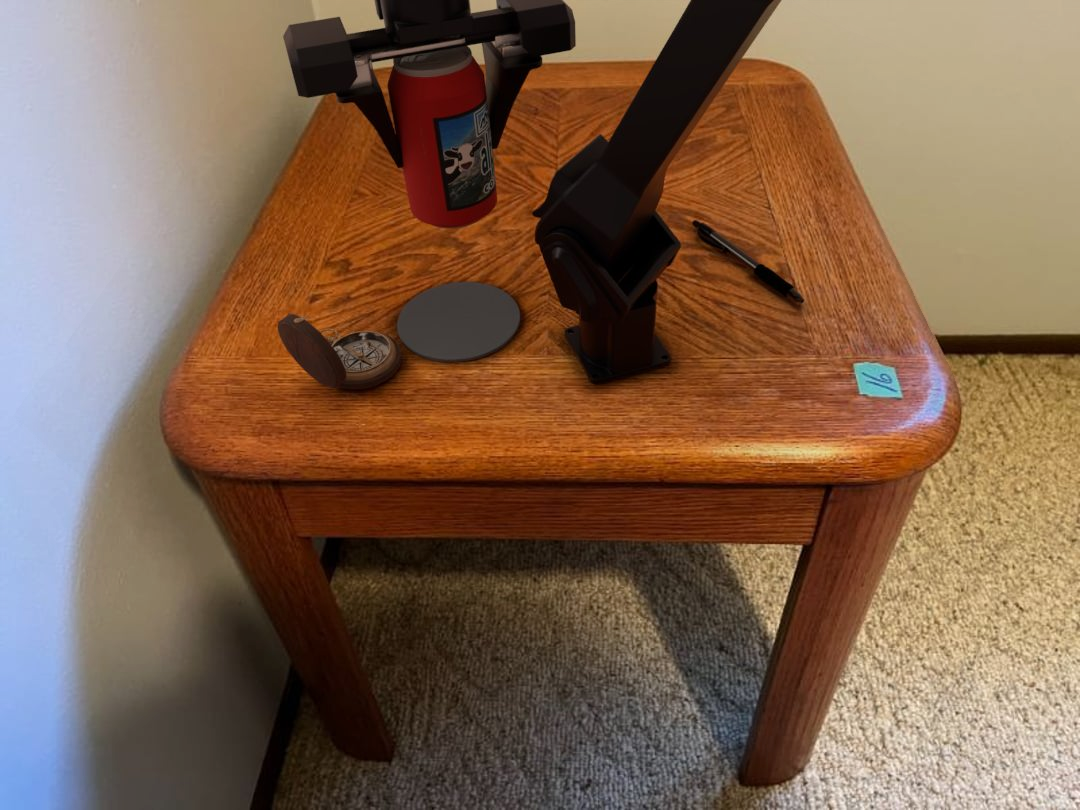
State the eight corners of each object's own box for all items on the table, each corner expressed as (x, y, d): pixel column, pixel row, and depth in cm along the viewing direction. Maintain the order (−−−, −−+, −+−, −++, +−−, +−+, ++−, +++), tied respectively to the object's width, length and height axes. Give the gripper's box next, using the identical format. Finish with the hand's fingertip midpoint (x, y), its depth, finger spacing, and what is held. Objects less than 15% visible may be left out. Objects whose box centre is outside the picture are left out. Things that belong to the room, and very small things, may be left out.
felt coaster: (536, 343, 67) (536, 340, 67) (412, 375, 65) (411, 372, 65) (500, 273, 74) (499, 271, 73) (386, 300, 72) (385, 297, 71)
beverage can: (485, 238, 63) (465, 76, 54) (399, 232, 64) (367, 73, 56) (508, 192, 67) (493, 37, 59) (427, 187, 69) (402, 35, 61)
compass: (419, 358, 66) (405, 282, 61) (342, 416, 62) (320, 340, 57) (351, 320, 70) (332, 245, 65) (274, 372, 66) (247, 297, 61)
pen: (683, 231, 77) (684, 220, 76) (698, 225, 77) (699, 214, 77) (791, 312, 68) (793, 300, 67) (806, 304, 68) (809, 293, 68)
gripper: (522, -130, 59) (535, 89, 70) (250, -92, 56) (307, 132, 67) (575, -89, 51) (580, 150, 62) (262, -42, 48) (325, 202, 59)
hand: (447, 155), depth 63 cm, fingers closed on beverage can, 7 cm apart
